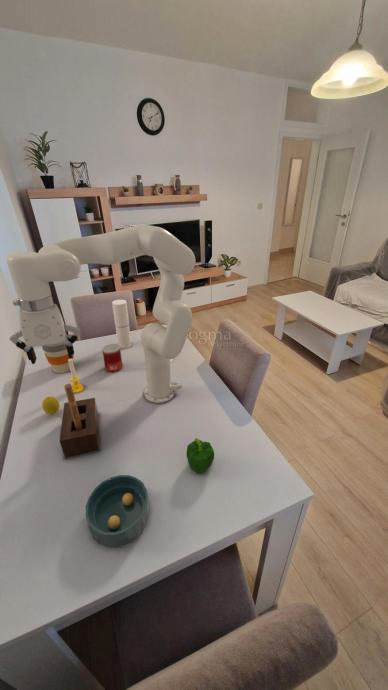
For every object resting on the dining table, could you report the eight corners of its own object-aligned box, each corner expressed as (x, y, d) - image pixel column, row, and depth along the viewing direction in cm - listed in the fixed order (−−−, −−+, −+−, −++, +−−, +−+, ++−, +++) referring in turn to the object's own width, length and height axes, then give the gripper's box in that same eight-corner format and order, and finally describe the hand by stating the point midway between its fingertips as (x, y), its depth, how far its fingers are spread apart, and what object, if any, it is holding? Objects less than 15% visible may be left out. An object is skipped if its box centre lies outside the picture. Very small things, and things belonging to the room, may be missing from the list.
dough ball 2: (133, 495, 77) (132, 489, 75) (134, 506, 74) (133, 499, 73) (122, 498, 76) (121, 492, 74) (123, 509, 73) (122, 502, 72)
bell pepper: (216, 475, 83) (218, 452, 78) (189, 480, 82) (190, 457, 77) (209, 452, 90) (210, 430, 85) (184, 456, 89) (184, 434, 84)
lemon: (55, 419, 102) (50, 403, 98) (42, 417, 103) (36, 401, 99) (64, 409, 107) (59, 393, 103) (51, 407, 108) (46, 391, 104)
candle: (73, 394, 115) (65, 363, 107) (68, 388, 118) (60, 357, 110) (85, 389, 118) (78, 358, 110) (81, 383, 121) (74, 353, 113)
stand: (98, 413, 105) (94, 397, 101) (99, 450, 90) (95, 433, 86) (68, 419, 102) (64, 403, 98) (64, 458, 88) (59, 441, 84)
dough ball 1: (120, 518, 71) (118, 511, 70) (121, 529, 69) (119, 523, 68) (108, 521, 71) (106, 515, 69) (108, 533, 68) (107, 527, 67)
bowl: (144, 482, 81) (142, 468, 78) (154, 536, 68) (152, 522, 65) (89, 497, 77) (86, 483, 74) (89, 557, 64) (84, 544, 61)
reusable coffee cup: (49, 363, 134) (41, 336, 127) (76, 358, 139) (70, 331, 131) (48, 377, 124) (40, 349, 117) (78, 371, 129) (71, 343, 121)
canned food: (125, 366, 133) (123, 346, 128) (113, 374, 127) (110, 354, 122) (114, 361, 137) (111, 342, 131) (102, 369, 131) (98, 349, 125)
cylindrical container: (115, 347, 149) (109, 304, 136) (121, 341, 155) (115, 299, 143) (128, 348, 148) (123, 305, 135) (133, 342, 154) (128, 300, 142)
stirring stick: (86, 439, 94) (71, 383, 83) (85, 443, 93) (71, 387, 81) (79, 440, 94) (64, 384, 82) (79, 445, 92) (64, 388, 80)
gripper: (-6, 311, 65) (16, 371, 74) (72, 304, 70) (84, 361, 79) (2, 301, 72) (22, 356, 80) (73, 295, 76) (85, 348, 85)
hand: (53, 358), depth 79 cm, fingers open, 9 cm apart
